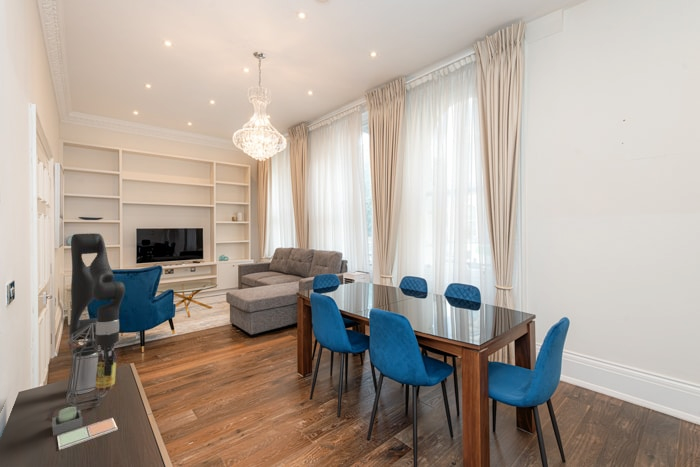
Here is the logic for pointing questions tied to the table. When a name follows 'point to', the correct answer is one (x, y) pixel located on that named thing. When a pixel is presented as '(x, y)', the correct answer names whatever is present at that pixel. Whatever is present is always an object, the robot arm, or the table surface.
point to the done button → (67, 414)
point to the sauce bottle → (105, 381)
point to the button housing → (66, 424)
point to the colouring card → (86, 433)
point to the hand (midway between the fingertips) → (106, 372)
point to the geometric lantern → (73, 366)
